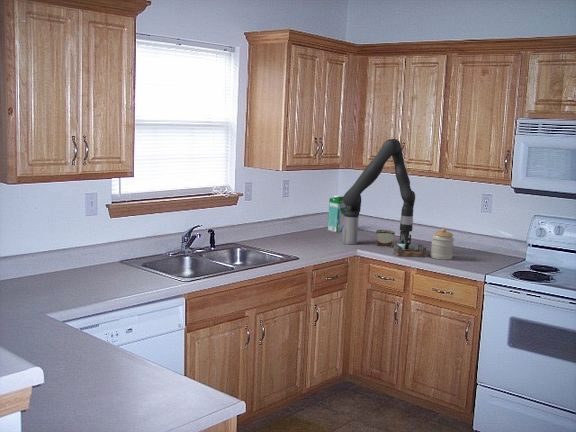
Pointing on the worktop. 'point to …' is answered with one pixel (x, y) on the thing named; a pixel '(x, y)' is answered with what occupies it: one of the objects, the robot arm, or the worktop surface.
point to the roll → (409, 246)
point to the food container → (385, 237)
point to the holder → (409, 251)
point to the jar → (442, 245)
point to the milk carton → (336, 214)
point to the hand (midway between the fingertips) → (404, 249)
